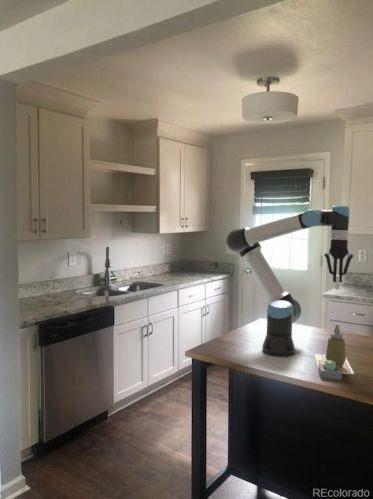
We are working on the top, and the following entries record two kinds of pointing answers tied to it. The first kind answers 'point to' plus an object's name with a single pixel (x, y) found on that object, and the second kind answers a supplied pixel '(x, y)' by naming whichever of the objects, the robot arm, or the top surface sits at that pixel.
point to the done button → (330, 365)
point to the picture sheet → (345, 369)
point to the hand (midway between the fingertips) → (336, 288)
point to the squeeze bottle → (336, 347)
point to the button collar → (330, 372)
